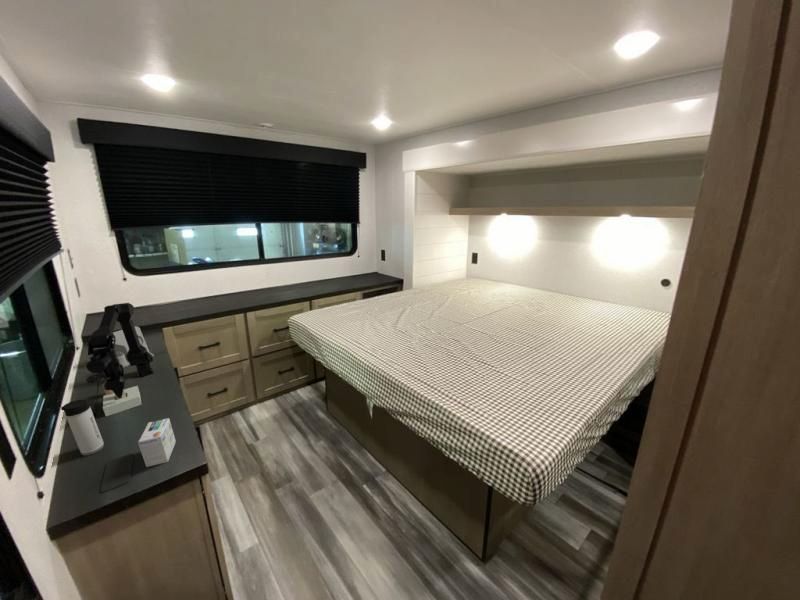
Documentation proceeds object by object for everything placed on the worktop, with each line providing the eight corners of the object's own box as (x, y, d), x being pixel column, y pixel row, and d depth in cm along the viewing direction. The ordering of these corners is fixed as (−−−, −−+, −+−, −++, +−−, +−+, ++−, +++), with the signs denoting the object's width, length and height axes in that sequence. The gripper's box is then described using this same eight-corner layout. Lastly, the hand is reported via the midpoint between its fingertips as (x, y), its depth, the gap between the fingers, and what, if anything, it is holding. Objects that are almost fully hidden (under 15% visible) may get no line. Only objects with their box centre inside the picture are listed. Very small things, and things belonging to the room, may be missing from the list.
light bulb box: (155, 446, 119) (147, 421, 115) (176, 441, 121) (169, 417, 118) (145, 468, 109) (136, 442, 106) (168, 462, 111) (160, 436, 108)
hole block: (106, 403, 145) (103, 395, 143) (139, 393, 152) (137, 385, 151) (105, 416, 136) (102, 408, 135) (141, 404, 143) (139, 396, 142)
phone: (99, 493, 100) (106, 461, 111) (100, 495, 100) (107, 463, 112) (129, 481, 103) (133, 452, 115) (130, 483, 104) (134, 454, 116)
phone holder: (117, 369, 174) (107, 338, 169) (111, 364, 180) (101, 334, 174) (155, 356, 188) (146, 327, 182) (148, 352, 193) (139, 324, 188)
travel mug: (77, 452, 116) (57, 405, 110) (99, 441, 122) (82, 395, 116) (84, 458, 114) (65, 410, 107) (107, 446, 119) (90, 400, 113)
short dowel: (106, 394, 152) (102, 383, 150) (115, 391, 154) (111, 380, 152) (105, 397, 149) (102, 386, 147) (114, 394, 151) (111, 383, 149)
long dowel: (119, 403, 144) (112, 384, 141) (128, 400, 146) (121, 381, 143) (119, 407, 142) (112, 387, 139) (128, 404, 144) (121, 384, 141)
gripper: (84, 360, 139) (96, 391, 144) (81, 377, 126) (94, 410, 130) (118, 351, 146) (128, 382, 151) (119, 367, 133) (129, 399, 137)
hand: (119, 393), depth 142 cm, fingers open, 9 cm apart
